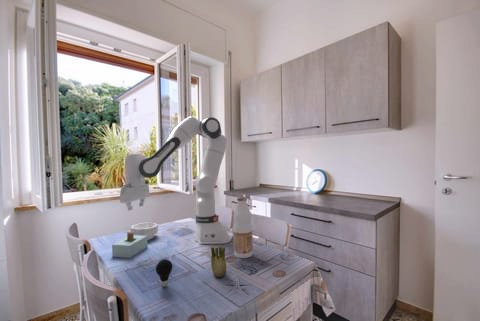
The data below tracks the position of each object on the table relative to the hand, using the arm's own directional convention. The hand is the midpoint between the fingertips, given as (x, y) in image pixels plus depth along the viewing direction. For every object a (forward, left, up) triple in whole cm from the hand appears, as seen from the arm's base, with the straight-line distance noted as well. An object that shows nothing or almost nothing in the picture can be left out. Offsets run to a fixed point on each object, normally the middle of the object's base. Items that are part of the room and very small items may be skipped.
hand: (136, 208), depth 122 cm
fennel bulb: (-53, +21, -22) cm, 61 cm away
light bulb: (-35, +32, -22) cm, 52 cm away
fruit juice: (-59, 0, -22) cm, 63 cm away
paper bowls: (+5, -14, -22) cm, 27 cm away
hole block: (0, +5, -22) cm, 22 cm away
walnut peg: (0, +5, -22) cm, 22 cm away
